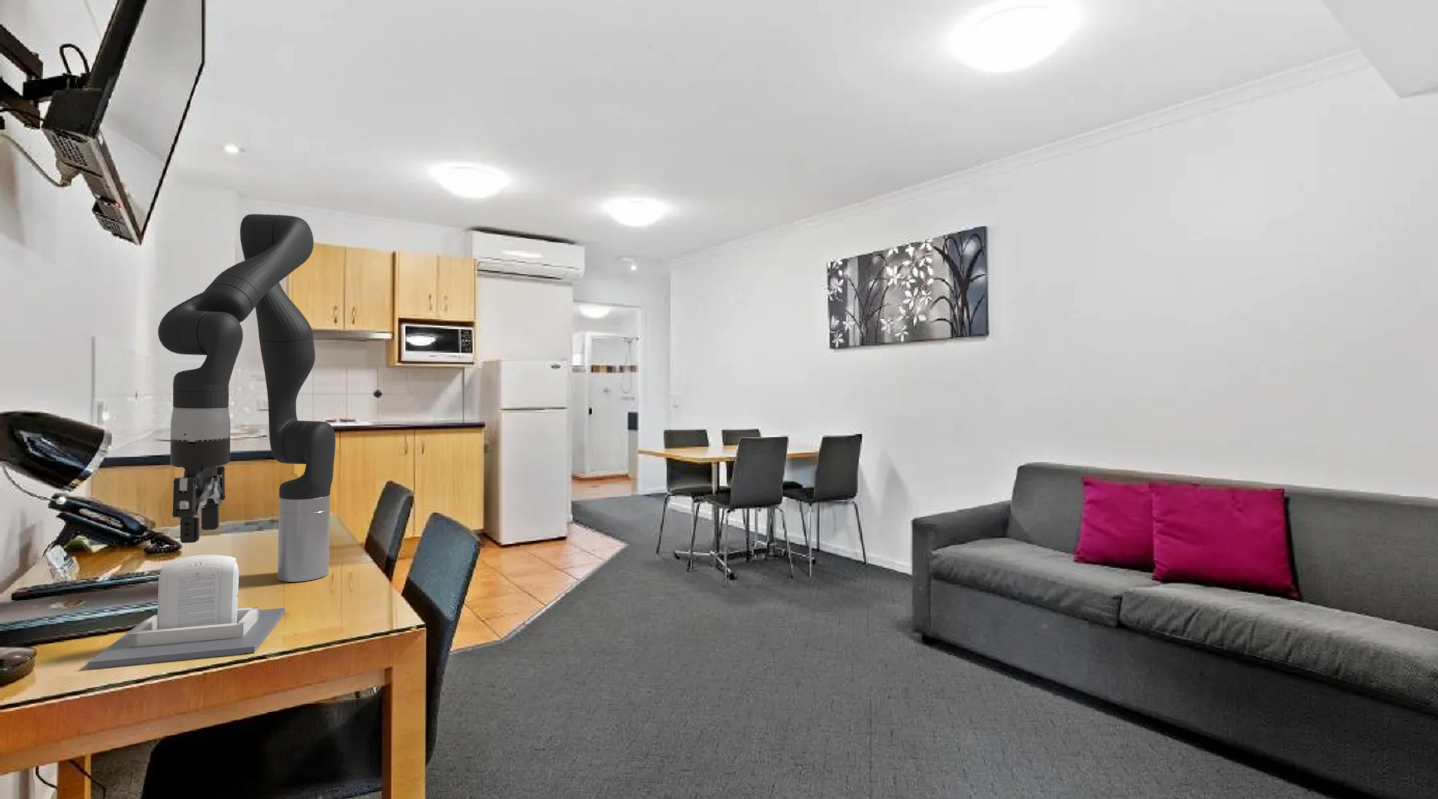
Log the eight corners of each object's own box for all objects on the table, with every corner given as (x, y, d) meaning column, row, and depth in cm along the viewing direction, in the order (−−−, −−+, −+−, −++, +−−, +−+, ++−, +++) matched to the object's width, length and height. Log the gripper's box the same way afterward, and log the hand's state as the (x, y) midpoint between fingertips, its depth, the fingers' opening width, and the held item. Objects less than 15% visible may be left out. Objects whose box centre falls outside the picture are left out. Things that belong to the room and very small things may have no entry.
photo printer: (239, 622, 110) (240, 549, 109) (236, 630, 106) (237, 555, 106) (160, 632, 104) (161, 556, 104) (153, 641, 101) (155, 562, 100)
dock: (146, 624, 110) (146, 607, 110) (284, 613, 117) (285, 596, 117) (88, 669, 93) (88, 648, 93) (254, 652, 100) (254, 633, 100)
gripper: (190, 431, 109) (189, 526, 110) (151, 440, 96) (151, 548, 97) (243, 431, 112) (242, 524, 113) (213, 440, 99) (212, 545, 99)
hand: (200, 535), depth 105 cm, fingers open, 8 cm apart
